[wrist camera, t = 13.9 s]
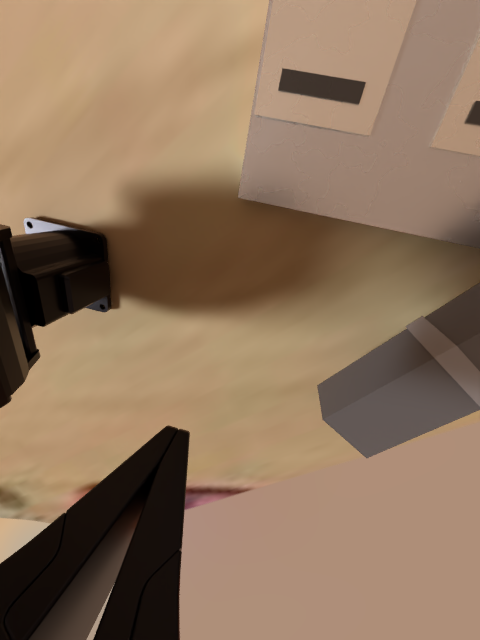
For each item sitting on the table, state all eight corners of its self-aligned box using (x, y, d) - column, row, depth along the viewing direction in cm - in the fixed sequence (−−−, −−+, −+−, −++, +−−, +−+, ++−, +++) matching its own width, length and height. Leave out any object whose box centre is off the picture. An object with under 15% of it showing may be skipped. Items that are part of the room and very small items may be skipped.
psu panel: (241, 197, 16) (236, 197, 15) (299, -153, 10) (301, -207, 9) (542, 260, 15) (567, 266, 13) (813, -101, 9) (908, -156, 7)
